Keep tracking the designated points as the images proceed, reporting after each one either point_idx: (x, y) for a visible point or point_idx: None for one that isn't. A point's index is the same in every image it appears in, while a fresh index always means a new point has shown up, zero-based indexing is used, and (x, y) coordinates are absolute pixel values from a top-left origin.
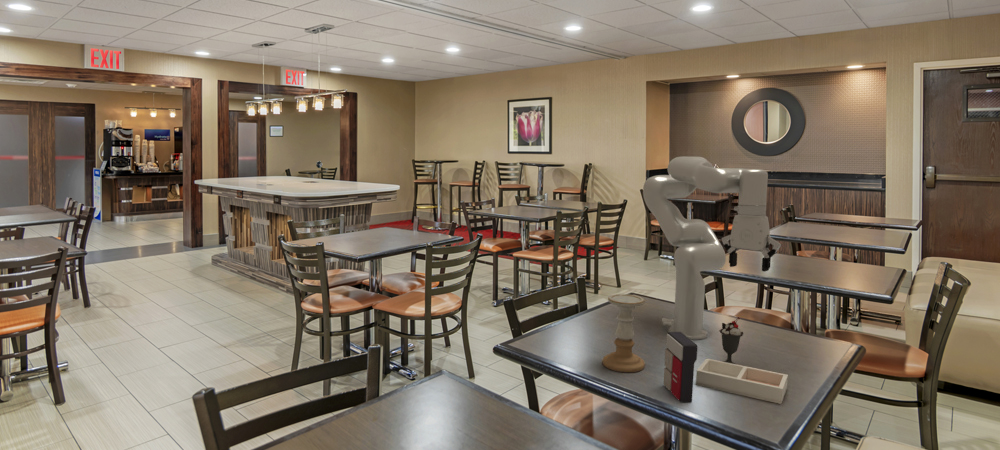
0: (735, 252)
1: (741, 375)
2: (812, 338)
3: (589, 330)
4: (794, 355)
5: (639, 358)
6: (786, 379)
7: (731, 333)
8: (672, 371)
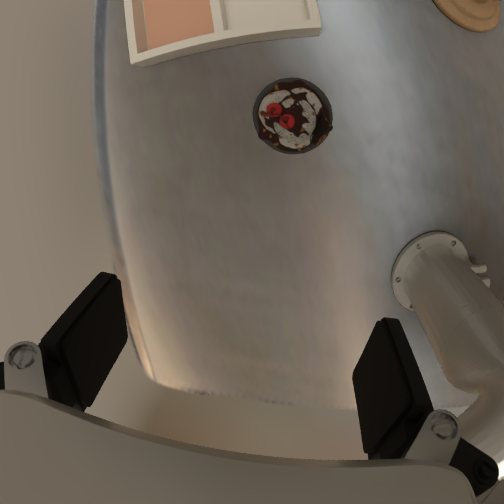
0: (382, 453)
1: None
2: (210, 383)
3: None
4: (198, 280)
5: (451, 7)
6: (128, 40)
7: (282, 90)
8: None
